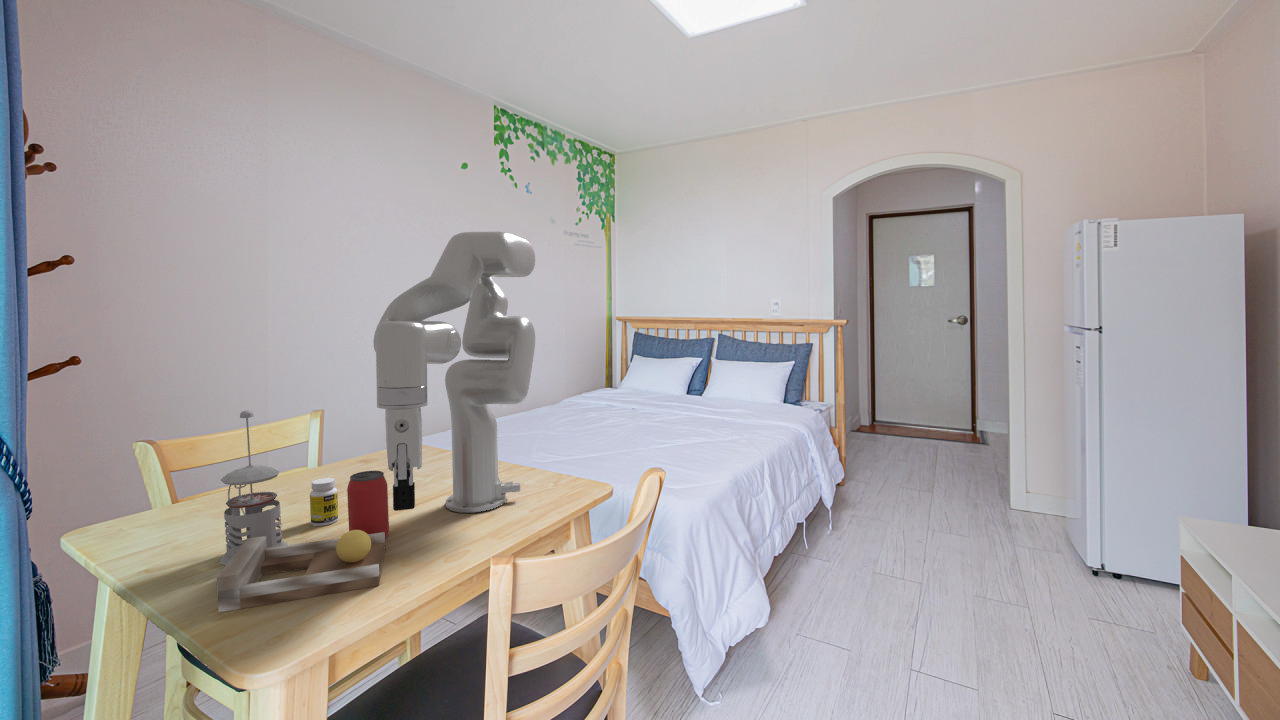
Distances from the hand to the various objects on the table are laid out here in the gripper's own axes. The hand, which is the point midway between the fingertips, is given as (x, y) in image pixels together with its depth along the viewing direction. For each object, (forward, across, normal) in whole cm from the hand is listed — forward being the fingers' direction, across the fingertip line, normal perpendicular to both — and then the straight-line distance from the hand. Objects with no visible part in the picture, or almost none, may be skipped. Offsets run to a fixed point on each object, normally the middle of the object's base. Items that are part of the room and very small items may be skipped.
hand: (404, 508), depth 88 cm
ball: (+6, +1, +8) cm, 9 cm away
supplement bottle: (+9, +26, +16) cm, 32 cm away
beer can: (+9, +14, +6) cm, 18 cm away
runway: (+10, +1, +14) cm, 17 cm away
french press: (+10, +15, +25) cm, 31 cm away
